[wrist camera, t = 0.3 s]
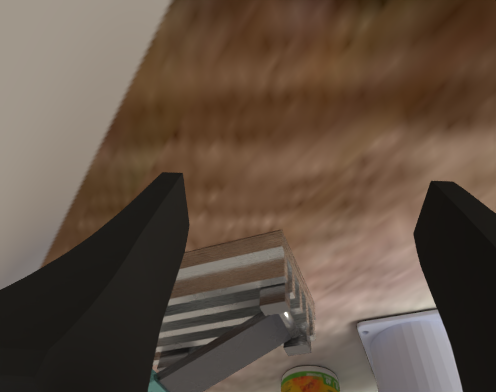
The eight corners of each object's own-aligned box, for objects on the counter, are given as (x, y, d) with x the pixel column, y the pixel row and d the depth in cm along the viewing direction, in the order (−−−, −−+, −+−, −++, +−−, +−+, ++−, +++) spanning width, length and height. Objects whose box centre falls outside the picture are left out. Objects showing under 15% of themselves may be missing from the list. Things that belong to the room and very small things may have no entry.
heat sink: (281, 229, 26) (281, 287, 22) (314, 302, 31) (319, 361, 27) (115, 269, 30) (91, 325, 26) (166, 329, 34) (152, 384, 30)
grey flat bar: (279, 293, 25) (285, 302, 24) (298, 329, 27) (304, 339, 26) (122, 385, 24) (123, 398, 23) (155, 415, 26) (157, 427, 25)
